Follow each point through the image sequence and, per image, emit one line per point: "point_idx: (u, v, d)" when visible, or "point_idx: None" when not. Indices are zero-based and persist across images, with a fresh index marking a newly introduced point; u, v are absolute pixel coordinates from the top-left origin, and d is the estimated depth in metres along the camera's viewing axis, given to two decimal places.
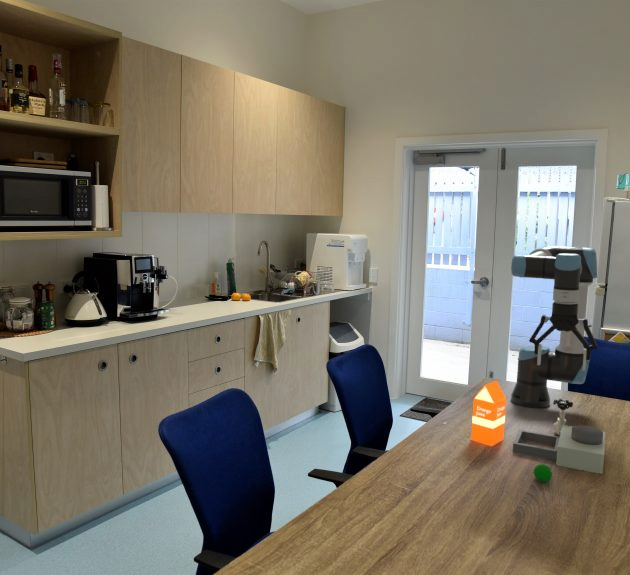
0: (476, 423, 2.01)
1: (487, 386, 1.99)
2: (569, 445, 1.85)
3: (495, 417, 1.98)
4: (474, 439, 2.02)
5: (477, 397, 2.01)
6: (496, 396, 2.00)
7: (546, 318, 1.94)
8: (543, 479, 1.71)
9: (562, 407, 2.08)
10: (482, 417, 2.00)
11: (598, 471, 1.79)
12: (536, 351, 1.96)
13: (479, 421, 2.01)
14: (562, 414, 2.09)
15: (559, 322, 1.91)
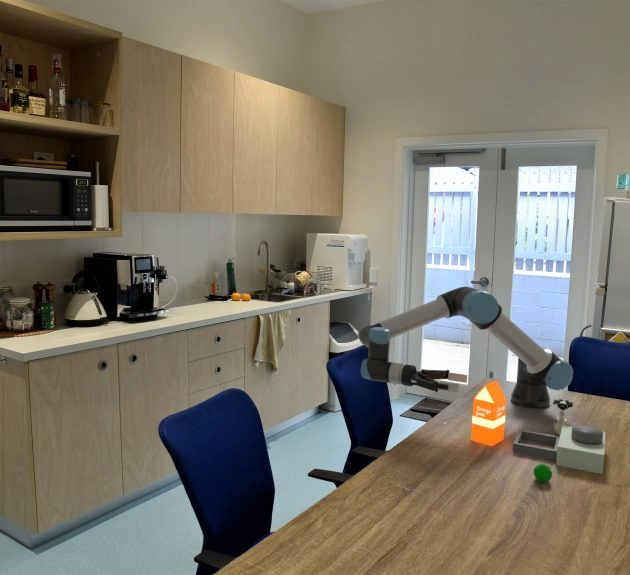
0: (476, 423, 2.01)
1: (487, 386, 1.99)
2: (569, 445, 1.85)
3: (495, 417, 1.98)
4: (474, 439, 2.02)
5: (477, 397, 2.01)
6: (496, 396, 2.00)
7: None
8: (543, 479, 1.71)
9: (562, 407, 2.08)
10: (482, 417, 2.00)
11: (598, 471, 1.79)
12: None
13: (479, 421, 2.01)
14: (562, 414, 2.09)
15: None
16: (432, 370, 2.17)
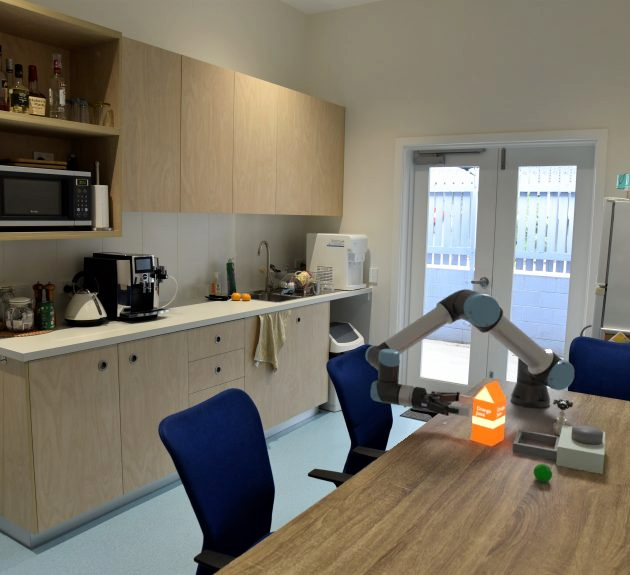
0: (476, 423, 2.01)
1: (487, 386, 1.99)
2: (569, 445, 1.85)
3: (495, 417, 1.98)
4: (474, 439, 2.02)
5: (477, 397, 2.01)
6: (496, 396, 2.00)
7: None
8: (543, 479, 1.71)
9: (562, 407, 2.08)
10: (482, 417, 2.00)
11: (598, 471, 1.79)
12: None
13: (479, 421, 2.01)
14: (562, 414, 2.09)
15: None
16: (442, 392, 2.16)
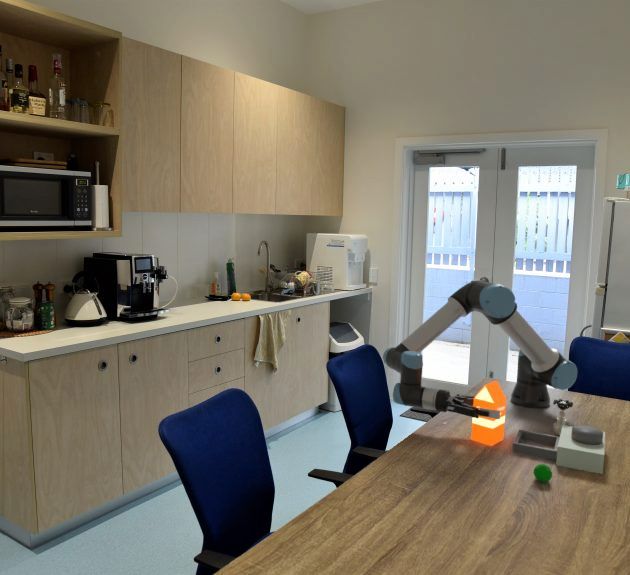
0: (476, 423, 2.01)
1: (487, 386, 1.99)
2: (569, 445, 1.85)
3: None
4: (474, 438, 2.02)
5: (477, 397, 2.01)
6: (496, 396, 2.00)
7: None
8: (543, 479, 1.71)
9: (562, 407, 2.08)
10: (482, 417, 2.00)
11: (598, 471, 1.79)
12: None
13: (479, 421, 2.01)
14: (562, 414, 2.09)
15: None
16: (467, 396, 2.12)
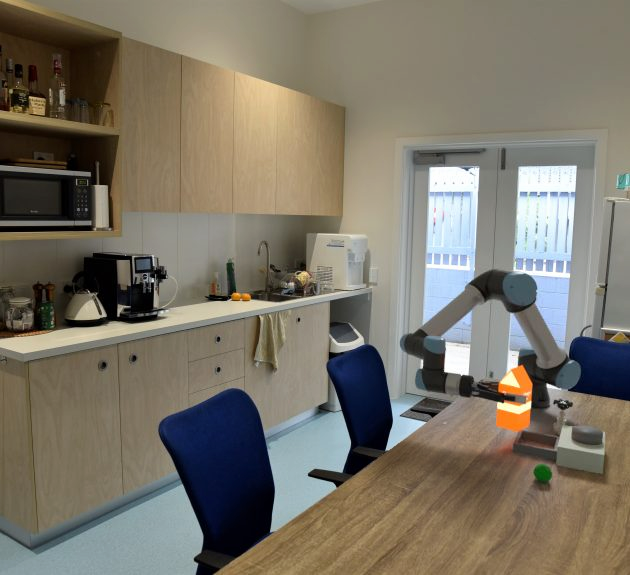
0: (501, 408, 1.96)
1: (513, 370, 1.94)
2: (569, 445, 1.85)
3: None
4: (500, 424, 1.97)
5: (502, 382, 1.96)
6: (522, 381, 1.94)
7: None
8: (543, 479, 1.71)
9: (562, 407, 2.08)
10: (508, 402, 1.95)
11: (598, 471, 1.79)
12: None
13: (504, 406, 1.96)
14: (562, 414, 2.09)
15: None
16: (492, 381, 2.07)
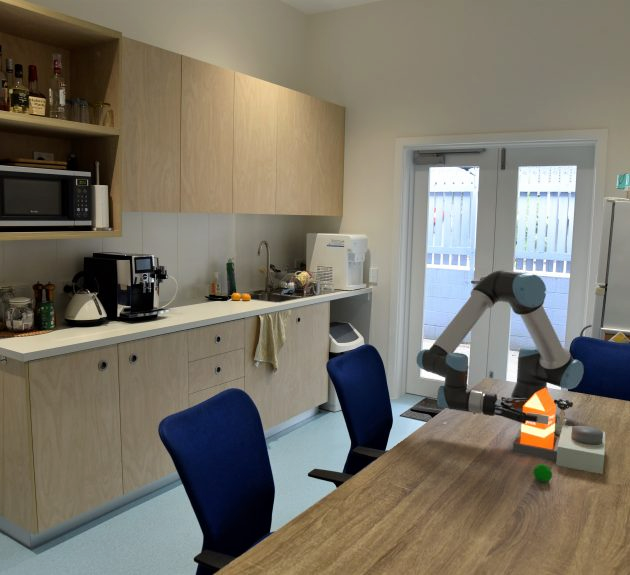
0: (525, 432, 1.95)
1: (537, 393, 1.92)
2: (569, 445, 1.85)
3: (546, 425, 1.91)
4: None
5: (527, 405, 1.94)
6: (546, 404, 1.93)
7: None
8: (543, 479, 1.71)
9: (562, 407, 2.08)
10: (532, 425, 1.93)
11: (598, 471, 1.79)
12: None
13: (529, 430, 1.94)
14: (562, 414, 2.09)
15: None
16: (513, 398, 2.05)
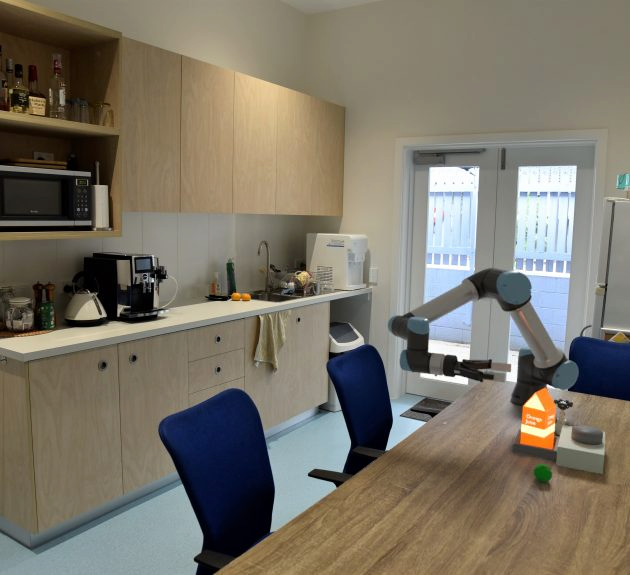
0: (525, 432, 1.95)
1: (537, 393, 1.92)
2: (569, 445, 1.85)
3: (546, 425, 1.91)
4: None
5: (527, 405, 1.94)
6: (546, 404, 1.93)
7: None
8: (543, 479, 1.71)
9: (562, 407, 2.08)
10: (532, 425, 1.93)
11: (598, 471, 1.79)
12: None
13: (529, 430, 1.94)
14: (562, 414, 2.09)
15: None
16: (474, 360, 2.10)
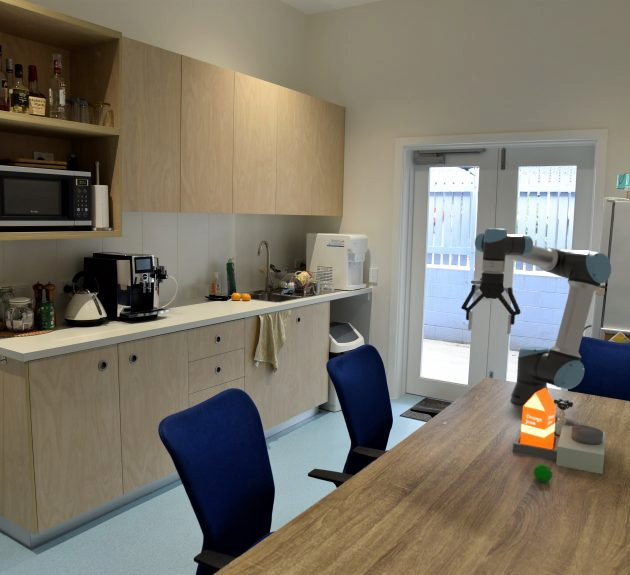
0: (525, 432, 1.95)
1: (537, 393, 1.92)
2: (569, 445, 1.85)
3: (546, 425, 1.91)
4: None
5: (526, 405, 1.94)
6: (546, 404, 1.93)
7: (476, 287, 2.14)
8: (543, 479, 1.71)
9: (562, 407, 2.08)
10: (532, 425, 1.93)
11: (598, 471, 1.79)
12: (467, 317, 2.16)
13: (529, 430, 1.94)
14: (562, 414, 2.09)
15: (487, 290, 2.11)
16: None
